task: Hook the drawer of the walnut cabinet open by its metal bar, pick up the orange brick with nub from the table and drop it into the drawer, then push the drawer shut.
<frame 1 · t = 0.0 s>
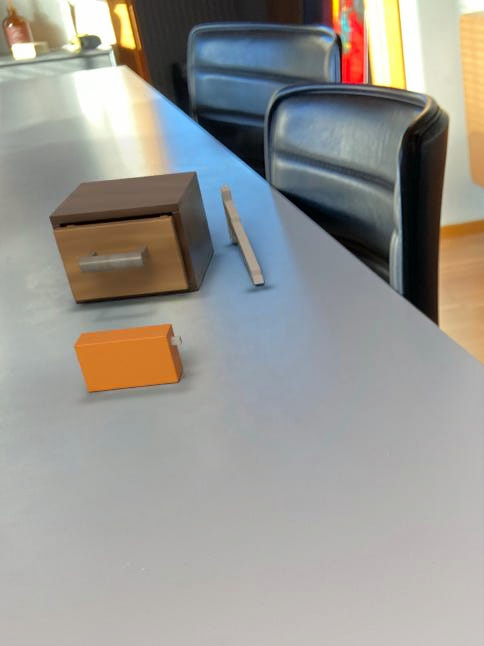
drawer: (129, 247, 104), point 4 cm above the table, slide at 1.0 cm
orange brick with nub: (136, 380, 86), on the table
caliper: (246, 263, 113), on the table
cabinet: (148, 276, 111), on the table
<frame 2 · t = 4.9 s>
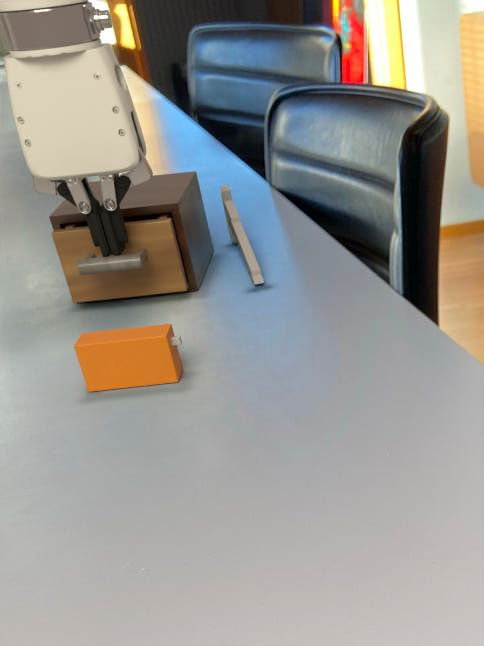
hand: (114, 252, 98), 6 cm above the table, tool pointing down, fingers closed
drawer: (128, 249, 104), point 4 cm above the table, slide at 1.6 cm, touching gripper
everything else where it was.
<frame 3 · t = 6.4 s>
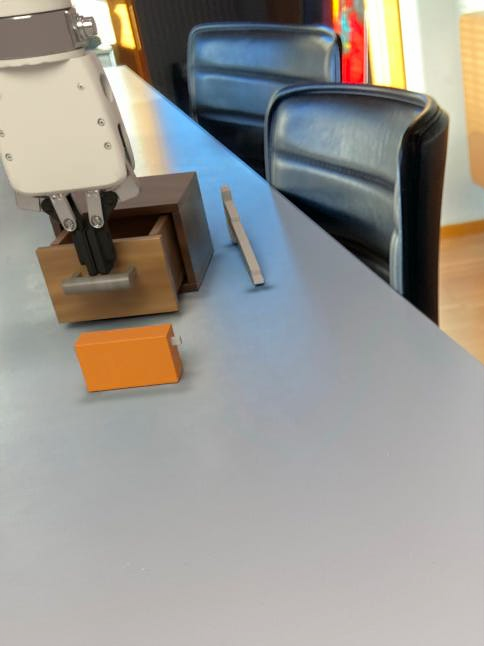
hand: (102, 271, 93), 6 cm above the table, tool pointing down, fingers closed
drawer: (117, 267, 99), point 4 cm above the table, slide at 7.8 cm, touching gripper
everything else where it was.
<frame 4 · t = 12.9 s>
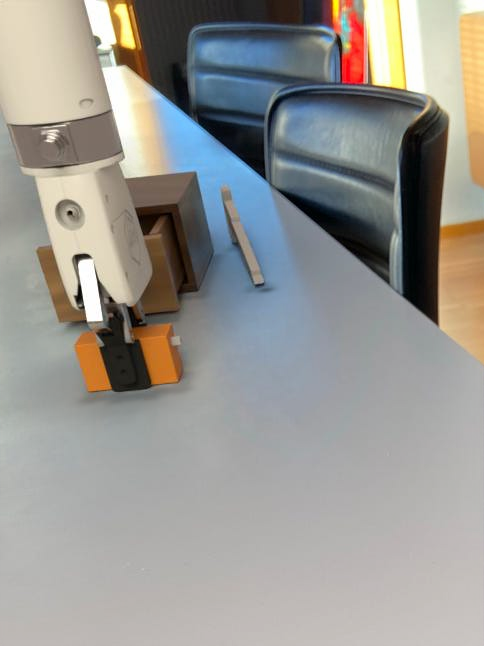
hand: (135, 378, 86), 0 cm above the table, tool pointing down, fingers closed on orange brick with nub, 3 cm apart
drawer: (117, 266, 99), point 4 cm above the table, slide at 7.6 cm
orange brick with nub: (136, 380, 86), on the table, touching gripper
everything else where it was.
when the fingers open (6 cm above the table, at t = 19.1 s): orange brick with nub drops 3 cm, resting on drawer.
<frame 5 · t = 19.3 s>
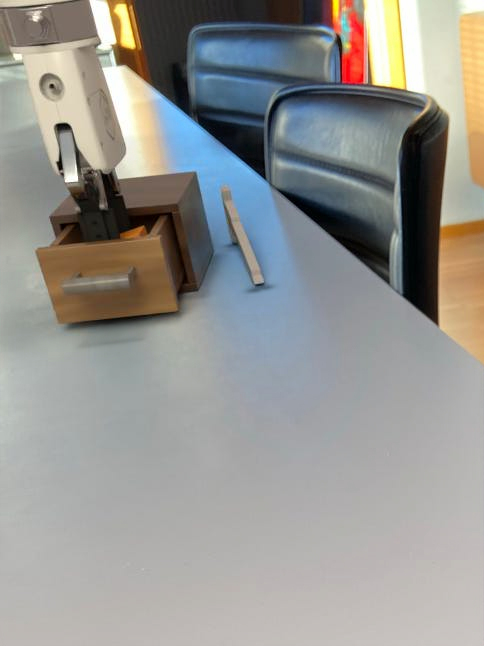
hand: (111, 245, 98), 6 cm above the table, tool pointing down, fingers open, 4 cm apart
drawer: (117, 267, 99), point 4 cm above the table, slide at 7.9 cm, touching orange brick with nub
orange brick with nub: (125, 282, 100), point 3 cm above the table, tilted 12°, touching drawer
everything else where it was.
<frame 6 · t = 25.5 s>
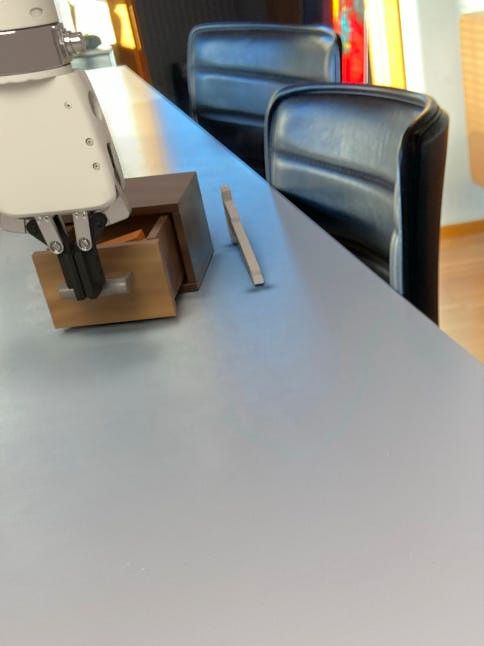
hand: (90, 294, 89), 5 cm above the table, tool pointing down, fingers closed
drawer: (114, 271, 98), point 4 cm above the table, slide at 9.2 cm, touching orange brick with nub, gripper
orange brick with nub: (123, 286, 99), point 3 cm above the table, tilted 12°, touching drawer
everything else where it was.
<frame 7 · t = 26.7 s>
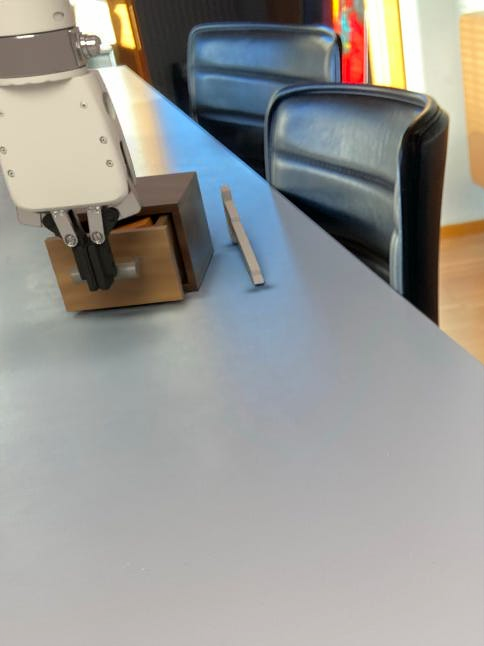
hand: (102, 285, 93), 5 cm above the table, tool pointing down, fingers closed
drawer: (123, 257, 102), point 4 cm above the table, slide at 4.4 cm, touching orange brick with nub, gripper
orange brick with nub: (132, 271, 103), point 3 cm above the table, tilted 12°, touching drawer
everything else where it was.
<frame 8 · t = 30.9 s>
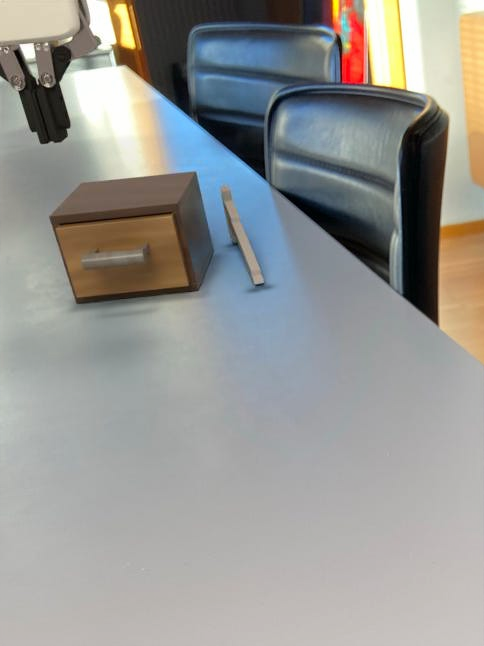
hand: (54, 139, 85), 17 cm above the table, tool pointing down, fingers closed
drawer: (131, 245, 105), point 4 cm above the table, slide at 0.0 cm, touching orange brick with nub
orange brick with nub: (139, 259, 106), point 3 cm above the table, tilted 12°, touching drawer
everything else where it was.
at the end: orange brick with nub inside the target area in the cabinet (3.7 cm from its centre), point 2.8 cm above the cabinet's base; drawer slide at 0.0 cm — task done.
